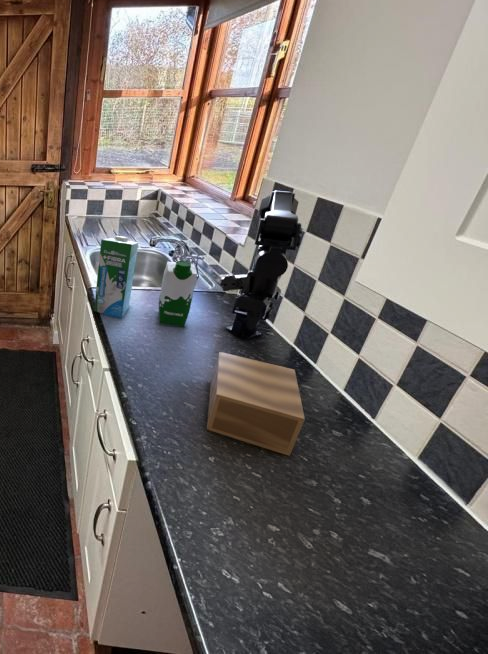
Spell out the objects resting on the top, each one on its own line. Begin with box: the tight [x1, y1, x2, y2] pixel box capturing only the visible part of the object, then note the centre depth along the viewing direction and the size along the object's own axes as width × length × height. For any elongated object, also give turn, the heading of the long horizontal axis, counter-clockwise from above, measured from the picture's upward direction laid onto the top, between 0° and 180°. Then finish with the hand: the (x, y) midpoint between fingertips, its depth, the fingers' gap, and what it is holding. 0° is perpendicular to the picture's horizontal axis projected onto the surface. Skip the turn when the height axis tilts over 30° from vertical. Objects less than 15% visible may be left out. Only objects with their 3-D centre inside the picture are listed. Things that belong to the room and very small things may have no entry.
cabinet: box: [206, 351, 306, 457], centre depth 87 cm, size 17×15×10 cm
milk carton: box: [93, 235, 139, 319], centre depth 128 cm, size 9×9×25 cm
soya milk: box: [158, 260, 198, 328], centre depth 122 cm, size 9×9×20 cm
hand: (249, 329), depth 100 cm, fingers closed
